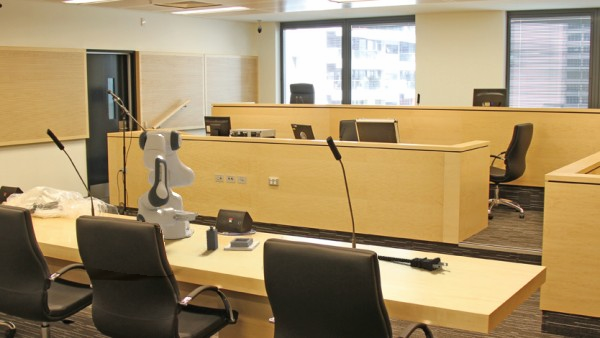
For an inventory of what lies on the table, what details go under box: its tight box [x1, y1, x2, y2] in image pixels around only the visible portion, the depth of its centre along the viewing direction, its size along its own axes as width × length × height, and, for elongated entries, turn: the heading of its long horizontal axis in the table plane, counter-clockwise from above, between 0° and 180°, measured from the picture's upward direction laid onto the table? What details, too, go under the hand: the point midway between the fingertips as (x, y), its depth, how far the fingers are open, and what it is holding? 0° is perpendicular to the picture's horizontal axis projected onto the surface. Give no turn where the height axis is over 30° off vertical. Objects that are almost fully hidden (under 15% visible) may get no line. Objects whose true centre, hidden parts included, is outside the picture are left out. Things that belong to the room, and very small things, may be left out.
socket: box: [223, 237, 261, 251], centre depth 383 cm, size 15×15×4 cm
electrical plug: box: [377, 254, 449, 272], centre depth 340 cm, size 9×42×5 cm, turn 48°
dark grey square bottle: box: [205, 225, 219, 251], centre depth 380 cm, size 4×4×12 cm
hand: (191, 213), depth 370 cm, fingers open, 8 cm apart
